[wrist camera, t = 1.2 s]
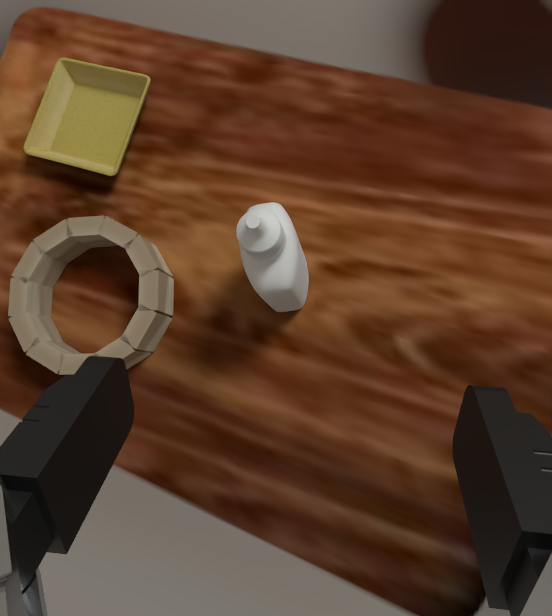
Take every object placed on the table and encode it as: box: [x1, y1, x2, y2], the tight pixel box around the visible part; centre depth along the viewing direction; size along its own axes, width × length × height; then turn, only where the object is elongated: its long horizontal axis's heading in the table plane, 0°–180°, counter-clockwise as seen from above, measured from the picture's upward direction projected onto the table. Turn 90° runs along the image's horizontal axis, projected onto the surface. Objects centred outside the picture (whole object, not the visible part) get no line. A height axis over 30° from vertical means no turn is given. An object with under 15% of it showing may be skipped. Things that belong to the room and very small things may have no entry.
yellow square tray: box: [24, 58, 150, 176], centre depth 39 cm, size 9×9×2 cm
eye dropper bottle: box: [236, 202, 309, 312], centre depth 30 cm, size 4×6×12 cm
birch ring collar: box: [8, 216, 174, 375], centre depth 36 cm, size 11×11×3 cm
